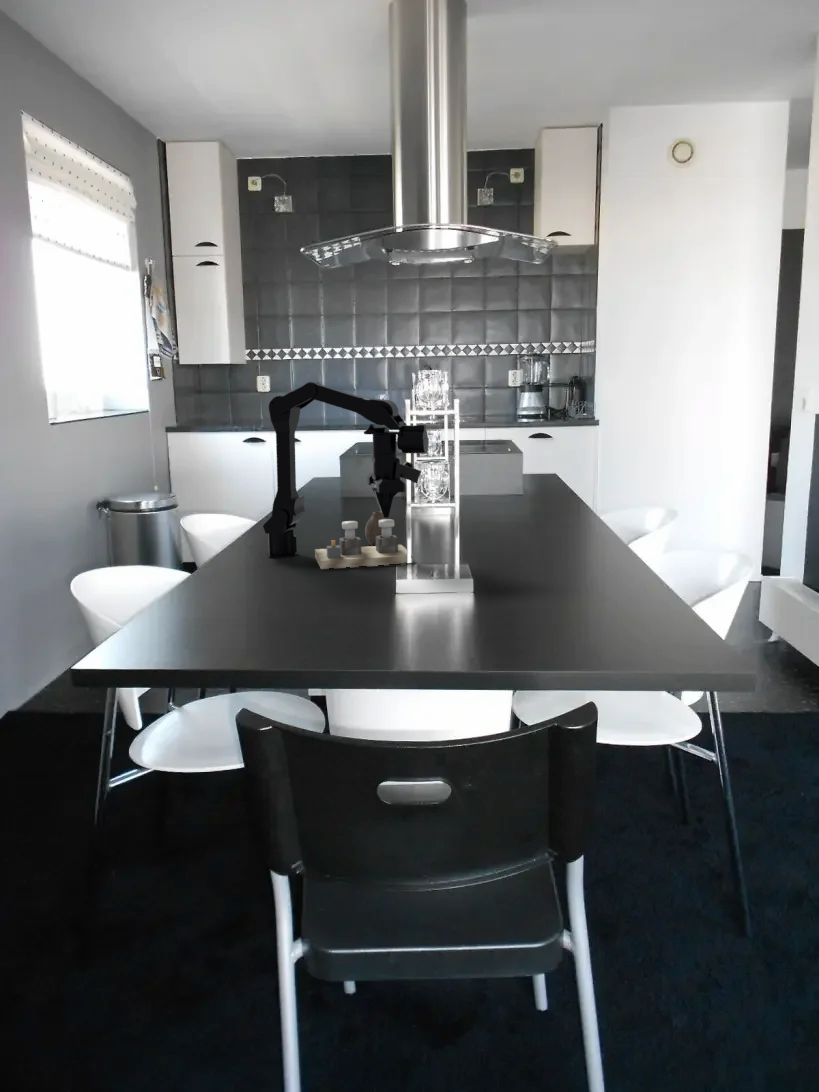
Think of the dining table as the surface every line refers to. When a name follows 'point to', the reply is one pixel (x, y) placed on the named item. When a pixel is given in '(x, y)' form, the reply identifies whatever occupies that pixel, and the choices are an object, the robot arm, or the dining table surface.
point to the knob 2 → (386, 527)
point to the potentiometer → (333, 550)
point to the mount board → (364, 554)
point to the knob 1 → (349, 529)
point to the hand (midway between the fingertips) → (386, 517)
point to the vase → (373, 527)
